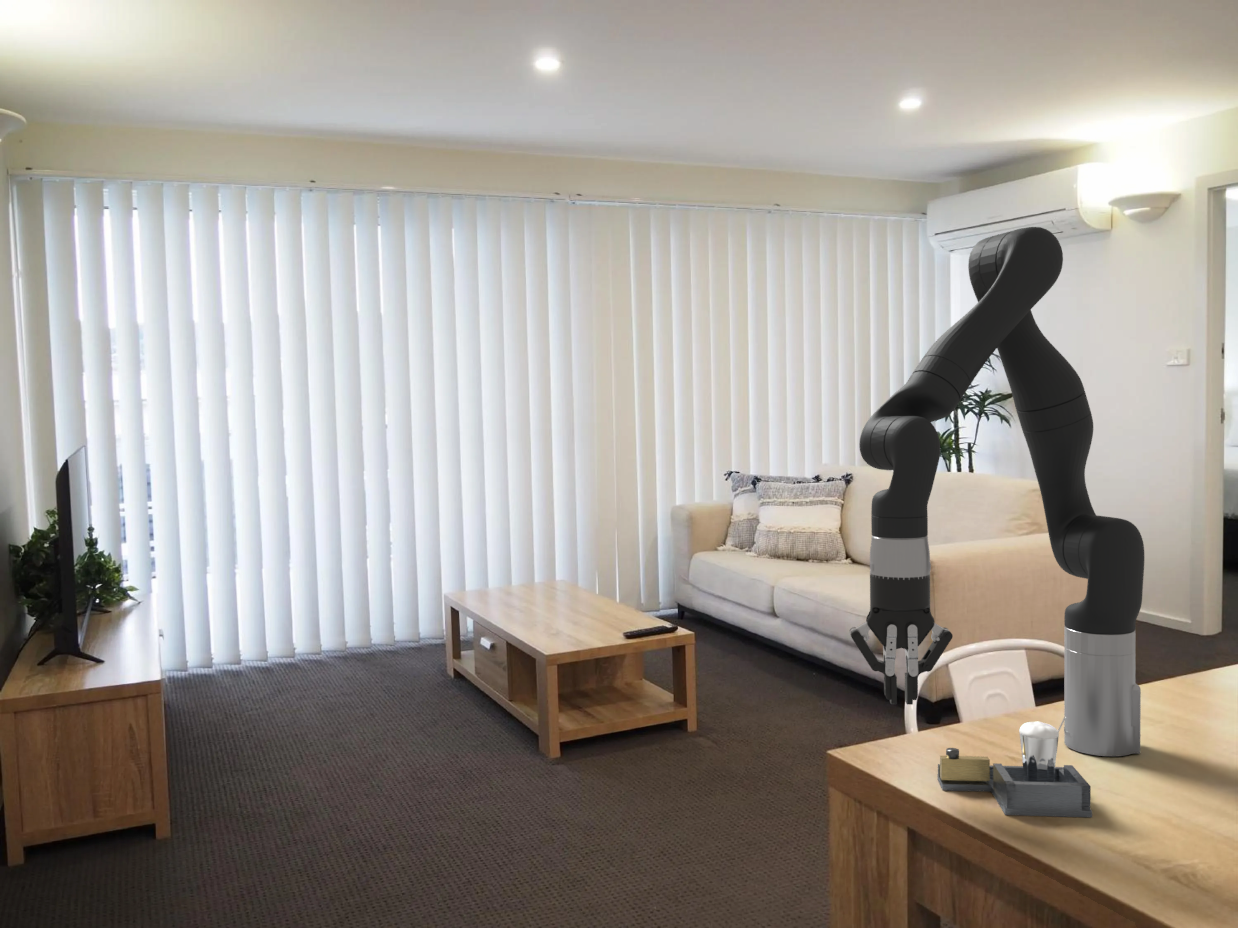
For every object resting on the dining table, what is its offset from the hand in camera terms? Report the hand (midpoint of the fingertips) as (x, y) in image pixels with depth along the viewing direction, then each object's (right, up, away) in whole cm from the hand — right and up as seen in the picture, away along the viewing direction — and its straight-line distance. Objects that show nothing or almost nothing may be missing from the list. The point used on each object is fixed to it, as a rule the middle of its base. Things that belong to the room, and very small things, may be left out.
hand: (900, 702), depth 135 cm
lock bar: (+8, -10, 0) cm, 13 cm away
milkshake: (+16, -10, -6) cm, 20 cm away
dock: (+13, -11, -4) cm, 17 cm away
